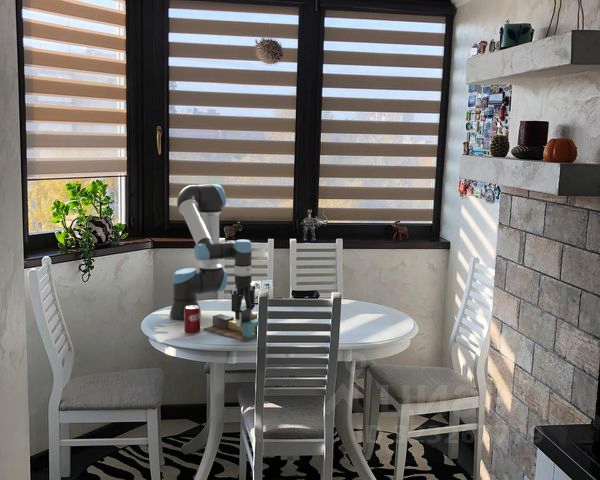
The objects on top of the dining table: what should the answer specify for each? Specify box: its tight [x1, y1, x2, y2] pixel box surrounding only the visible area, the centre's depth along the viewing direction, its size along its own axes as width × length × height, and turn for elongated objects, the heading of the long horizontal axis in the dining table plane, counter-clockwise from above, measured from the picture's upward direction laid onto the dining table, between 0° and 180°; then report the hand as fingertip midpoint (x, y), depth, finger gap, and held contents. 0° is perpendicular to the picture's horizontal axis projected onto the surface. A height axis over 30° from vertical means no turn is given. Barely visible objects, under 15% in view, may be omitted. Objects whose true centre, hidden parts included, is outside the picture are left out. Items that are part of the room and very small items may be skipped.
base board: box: [203, 325, 258, 343], centre depth 342 cm, size 27×14×1 cm, turn 49°
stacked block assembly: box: [211, 313, 258, 339], centre depth 341 cm, size 26×10×6 cm, turn 49°
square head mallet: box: [226, 306, 255, 334], centre depth 339 cm, size 18×5×10 cm, turn 49°
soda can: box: [183, 305, 201, 335], centre depth 341 cm, size 7×7×12 cm
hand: (243, 324), depth 338 cm, fingers closed on square head mallet, 5 cm apart
